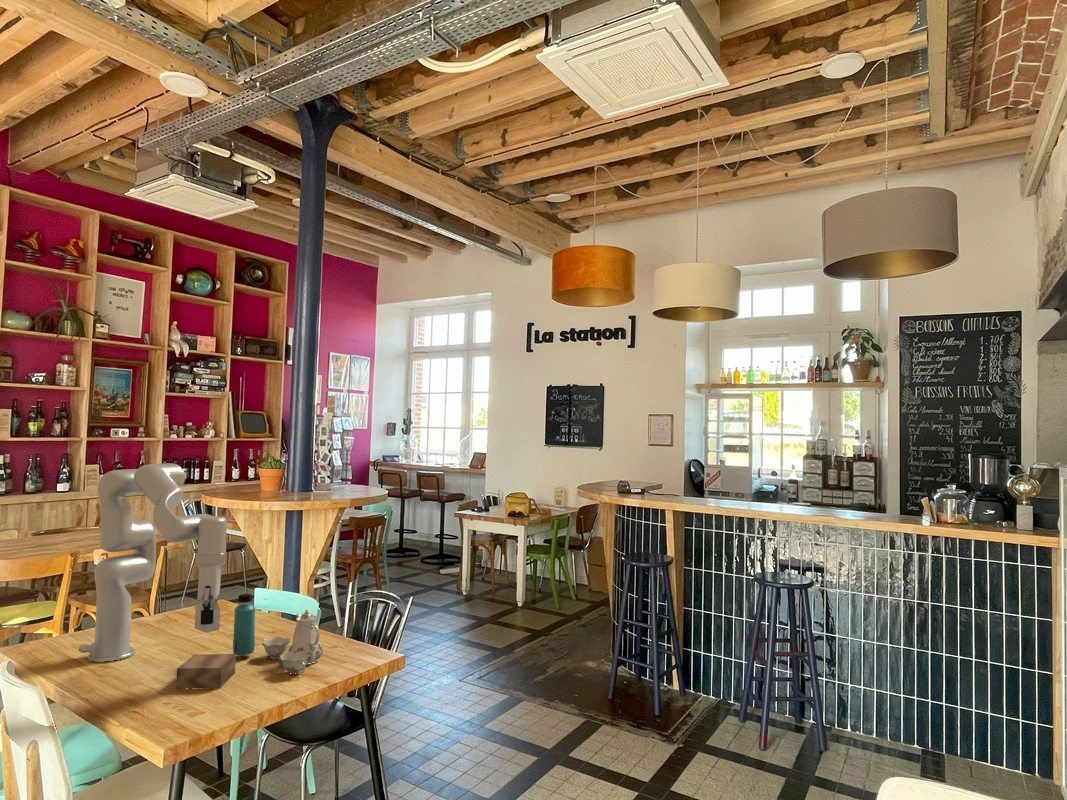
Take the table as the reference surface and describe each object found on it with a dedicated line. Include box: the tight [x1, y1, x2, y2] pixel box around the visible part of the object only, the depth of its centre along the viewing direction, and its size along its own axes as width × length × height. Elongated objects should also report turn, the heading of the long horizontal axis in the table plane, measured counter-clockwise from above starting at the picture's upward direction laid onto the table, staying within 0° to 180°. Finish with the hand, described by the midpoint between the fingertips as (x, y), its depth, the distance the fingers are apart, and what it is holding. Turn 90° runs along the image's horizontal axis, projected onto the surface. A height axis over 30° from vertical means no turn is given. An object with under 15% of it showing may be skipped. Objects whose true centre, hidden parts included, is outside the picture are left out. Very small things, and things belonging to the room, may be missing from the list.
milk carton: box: [194, 598, 221, 634], centre depth 193 cm, size 4×7×10 cm, turn 54°
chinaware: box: [261, 609, 324, 675], centre depth 208 cm, size 28×17×17 cm, turn 44°
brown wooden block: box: [175, 653, 237, 690], centre depth 192 cm, size 12×12×6 cm
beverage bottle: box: [232, 593, 256, 657], centre depth 213 cm, size 6×7×20 cm
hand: (209, 619), depth 193 cm, fingers closed on milk carton, 7 cm apart
